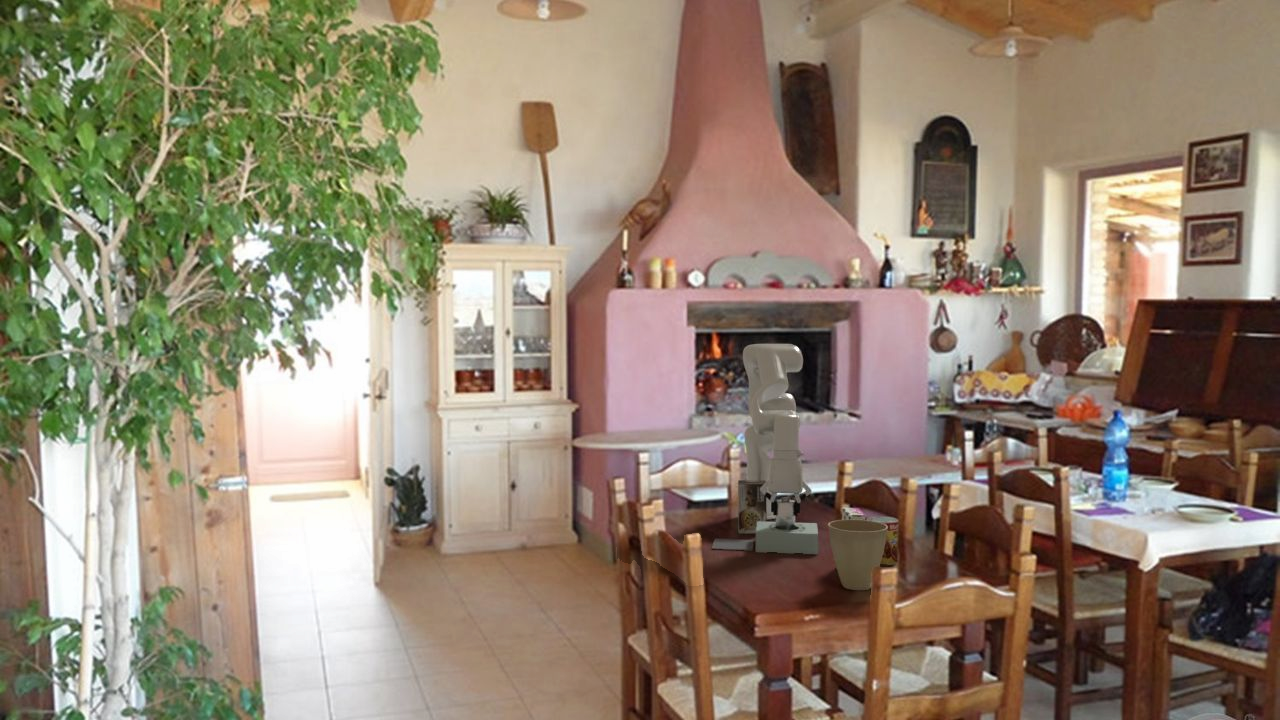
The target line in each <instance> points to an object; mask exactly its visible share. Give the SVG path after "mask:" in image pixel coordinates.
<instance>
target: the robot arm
mask: <svg viewBox="0 0 1280 720" xmlns="http://www.w3.org/2000/svg"><path fill="white" fill-rule="evenodd" d="M742 362H743V366H744V369H745V372H746V375H747V378H748V411H749V412H748V413H749V416H750V418H751V422H752V425H750V426H748V427H747V428H746V429H745V431H744V438H743V439H744V443H745V450H746V451H745V452H746V480H765V481H766V483H765V484H764V485H763V486H762V487H761V488H760V491H761V492H762V493H763V494H764V495H765V496H766V504H767V520H776V498H777V495H778V494H791V495H793V496H794V497H795V517H799V516H798V514H800V513H801V502H803V500H805V499H806V498H807V496H809V495H810V494H811V493H812V492H813V491H812V489H811V488H810V487H809V485H808V484H806V482H805V481H804V475H803V474H804V471H803V464H802V463H803V462H802V459H801V457H804V451H802V450H799V445H800V441H799V440H800V439H799V438H800V436H799V435H800V433H799V432H800V425H801V420H800V416H799V415H798V413H797V404H796V400H795V397H794V396H793V395H792V394H791V393H787V391H788V388H789V386H790V385H789V381H788V376H787V375H788V373H799V372H800V371H801V370H802V369H803V364H804V358H803V354H802V350H801V349H800V348H799V347H798V346H797V345H795V344H792V343H754V344H749V345H746V346H745V347H744V349H743V351H742ZM769 453H773V454H772V458H771V457H770V456H769V455H768V454H769ZM803 489H804V490H805V491H804V492H803ZM802 492H803V493H802Z"/></svg>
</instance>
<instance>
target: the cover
mask: <svg viewBox="0 0 1280 720" xmlns="http://www.w3.org/2000/svg"><path fill="white" fill-rule="evenodd" d="M775 501H776V518H775V522H776V528H777V529H780V530H795V523H796V516H795V502H796V500H793V499H791V498H790V497H787V496H786V497H785V496H784V497H781V498H780V499H775Z"/></svg>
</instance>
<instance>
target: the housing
mask: <svg viewBox="0 0 1280 720" xmlns="http://www.w3.org/2000/svg"><path fill="white" fill-rule="evenodd" d="M818 530H819V529H818V523H816V522H795V530H780V529H777V528H776V521H767V522H762V521H757V527H756V533H755V552H756V553H767V552H777V553H776V554H794V553H803V554H802V555H819V531H818Z"/></svg>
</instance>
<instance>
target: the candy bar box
mask: <svg viewBox="0 0 1280 720" xmlns="http://www.w3.org/2000/svg"><path fill="white" fill-rule="evenodd" d="M867 518H868V515H866V514H865V513H864V512H863V511H862V510H861V509H860V508H859V507H841V520H848V519H855V520H868V519H867Z"/></svg>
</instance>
